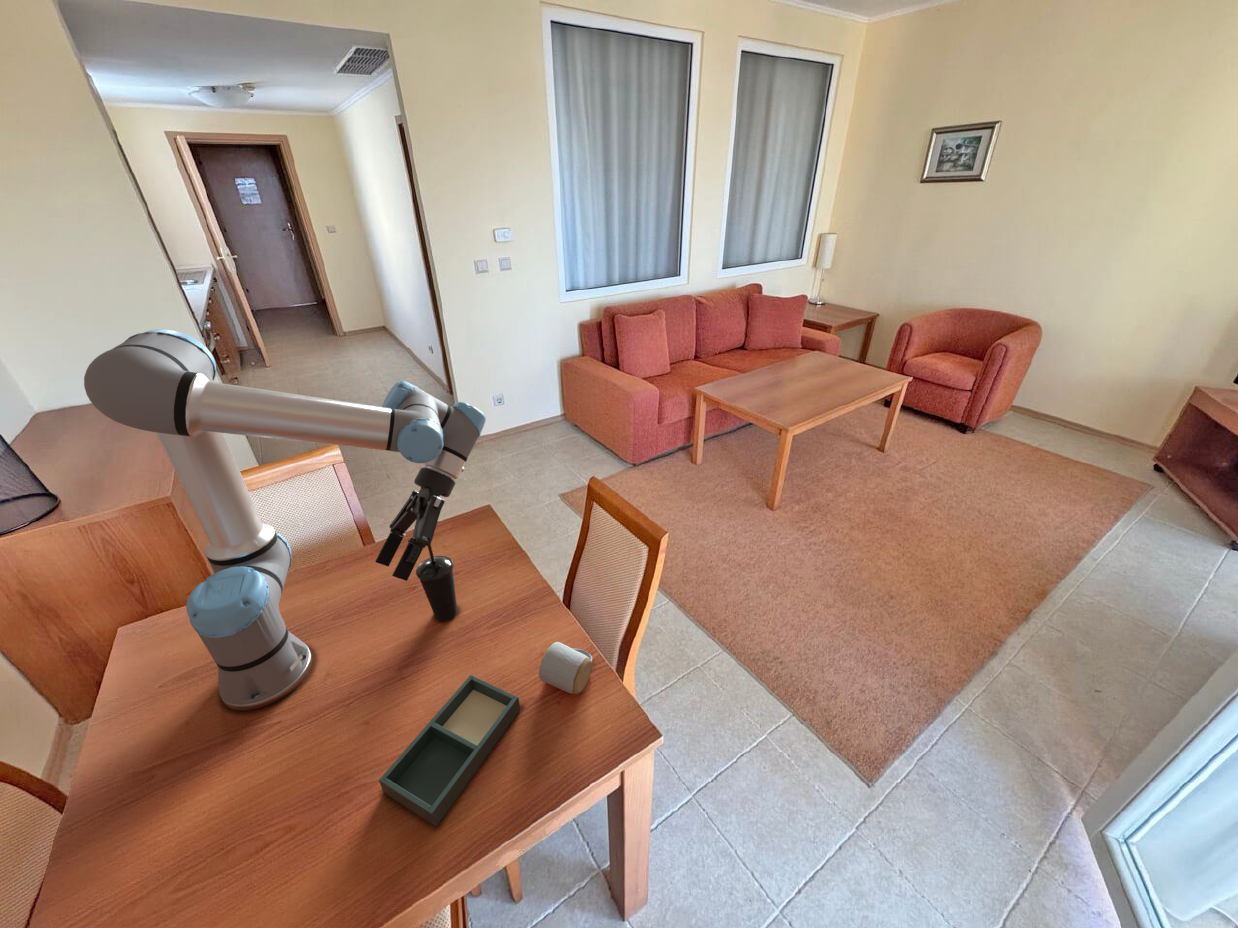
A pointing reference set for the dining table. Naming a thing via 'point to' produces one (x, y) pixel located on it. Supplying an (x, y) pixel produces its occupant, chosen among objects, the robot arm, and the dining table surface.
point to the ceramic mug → (566, 668)
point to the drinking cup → (438, 585)
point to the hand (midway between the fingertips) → (390, 571)
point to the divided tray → (450, 749)
